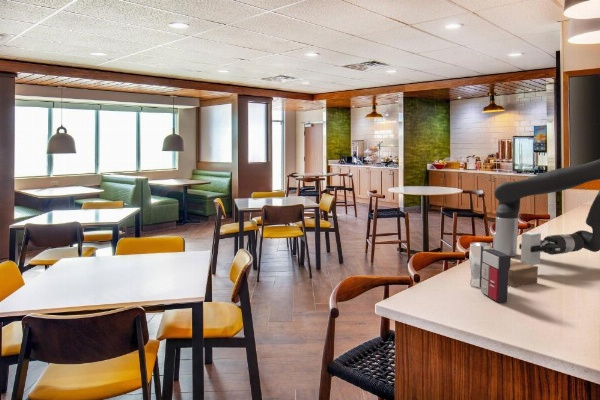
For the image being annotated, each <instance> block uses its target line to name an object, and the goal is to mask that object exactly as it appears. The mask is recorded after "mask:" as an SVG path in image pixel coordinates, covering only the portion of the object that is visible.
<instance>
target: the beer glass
mask: <svg viewBox="0 0 600 400" xmlns="http://www.w3.org/2000/svg"><path fill="white" fill-rule="evenodd" d="M484 249H491V244H490V243H488V242H482V241H481V242H480V241H479V242H477V241H476V242H470V244H469V268H470V276H471V277H470V280H469V286H470V285H471V286H470V287H472V286H473V287H472V288H475V287H478V288H477V289H481V279H482V263H483V250H484Z"/></svg>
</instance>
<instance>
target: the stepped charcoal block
mask: <svg viewBox="0 0 600 400" xmlns="http://www.w3.org/2000/svg"><path fill="white" fill-rule="evenodd" d="M511 257H512V256H509V255H507V254H505V253H502V252H500V251H497V250H495V249H493V248H490V249H484V250H483V263H482V279H481V288H480V292H481V293H482V294H483V293H484V294H483V295H484V296H486V295H487V297H488V296H489V297H488V298H489V299H491V298H492V299H491V300H492V301H494V300H495V302H496V301H497V302H498V304H502V303H503V304H505V303H504V302H507V303H508V293H509V292H508V288H509V286H508V270H509V269H510V263H511V260H512V259H511ZM497 302H496V303H497Z"/></svg>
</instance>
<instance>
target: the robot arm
mask: <svg viewBox="0 0 600 400" xmlns="http://www.w3.org/2000/svg"><path fill="white" fill-rule="evenodd" d="M596 180H597V181H599V180H600V158H599V159H596V160H594V161H590V162H587V163H583V164H577V165H571V166H565V167H561V168H556V169H552V170H549V171H546V172H542V173H540V174H537V175H536V174H535V175H534V176H531V177H529V178H526V179H522V180H517V181H516V180H515V181H506V182H502V183H499V185H497V186H496V187H495V190H494V191H493V192H494V197H495V199H496V200H497V201H498V204H497V205H498V206H497V208H496V211H495V230H494V232H493V235H492V236H493V237H492V238H493V239H492V241H493V242H492V249H495V250H497V251H500V252H502V253H505V254H507V255H509V256H511V257H515V256H517V252H518V251H517V250H518V249H519V250H521V243H519V245H518V232H519V231H518V229H519V228H518V227H519V224H518V223H519V213H520V209H521V208H520V207H521V199H522V198H525V197H530V196H531V197H532V196H536V195H545V194H551V193H557V192H562V191H566V190H571V189H572V188H573V189H574V188H575V187H579V186H581V185H584V184H586V183H589V182H593V181H596ZM585 224H586V225H587V226H588V227H591V229H592V232H591V231H588V230H582V229H581V230H578V231H575V232H573V233H568V234H553V235H547V236H545V237H544V238H543V239H541V244H540V245H539V246H531V247H530V252H540V253H545V254H547V255H551V256H553V255H562V254H567V253H572V252H579V251H580V250H583V249H585V250H587V251H590V252H594V253H597V252H599V251H600V189H599V190H598V192H597V194H596V197H595V198H594V200H593V201H592V204H591V206H590V208H589V211H588V213H587V216H586V220H585ZM518 246H519V247H518Z"/></svg>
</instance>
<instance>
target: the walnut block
mask: <svg viewBox="0 0 600 400" xmlns="http://www.w3.org/2000/svg"><path fill="white" fill-rule="evenodd" d="M538 274H539V266H537V265H529V264H525V263H521V261H517V260H512V259H511V263H510V269H509V270H508V287H510V286H511V287H510V288H513V287H514V288H518V286H519V287H524V286H529V285H534V284H538V277H539V275H538Z"/></svg>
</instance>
